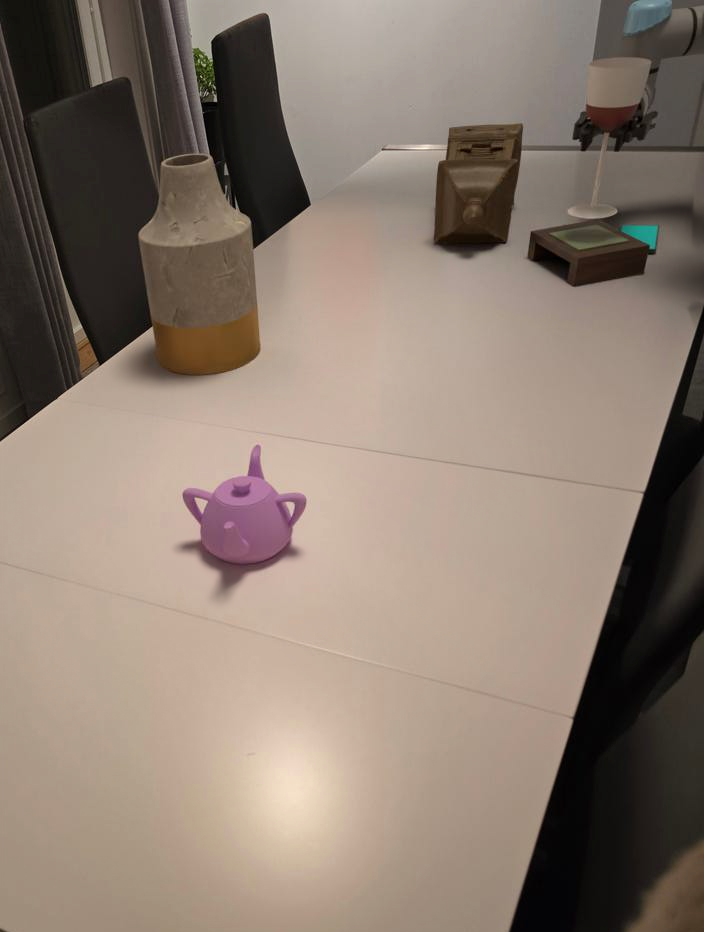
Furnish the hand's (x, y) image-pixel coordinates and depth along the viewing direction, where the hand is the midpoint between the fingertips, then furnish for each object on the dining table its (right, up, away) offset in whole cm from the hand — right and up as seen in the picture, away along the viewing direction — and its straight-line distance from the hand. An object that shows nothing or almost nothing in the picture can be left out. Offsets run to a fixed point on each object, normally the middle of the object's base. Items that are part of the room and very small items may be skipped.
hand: (601, 142), depth 143 cm
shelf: (+5, -13, +18) cm, 23 cm away
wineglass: (+4, -6, +12) cm, 14 cm away
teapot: (-62, -74, -39) cm, 104 cm away
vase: (-68, -34, +5) cm, 76 cm away
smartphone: (+18, -5, +25) cm, 31 cm away
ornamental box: (-11, +3, +39) cm, 40 cm away
